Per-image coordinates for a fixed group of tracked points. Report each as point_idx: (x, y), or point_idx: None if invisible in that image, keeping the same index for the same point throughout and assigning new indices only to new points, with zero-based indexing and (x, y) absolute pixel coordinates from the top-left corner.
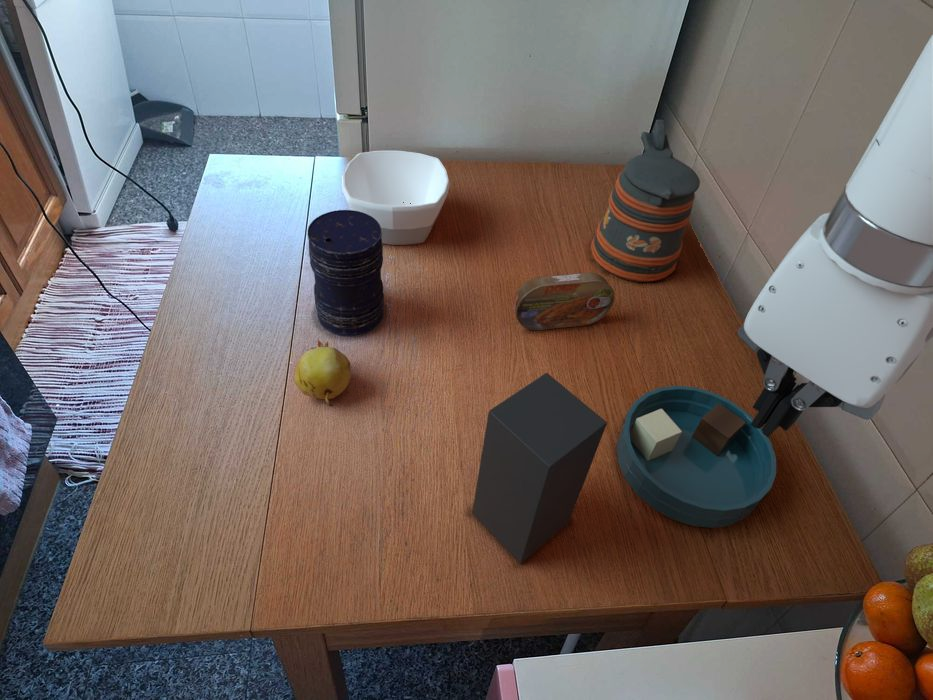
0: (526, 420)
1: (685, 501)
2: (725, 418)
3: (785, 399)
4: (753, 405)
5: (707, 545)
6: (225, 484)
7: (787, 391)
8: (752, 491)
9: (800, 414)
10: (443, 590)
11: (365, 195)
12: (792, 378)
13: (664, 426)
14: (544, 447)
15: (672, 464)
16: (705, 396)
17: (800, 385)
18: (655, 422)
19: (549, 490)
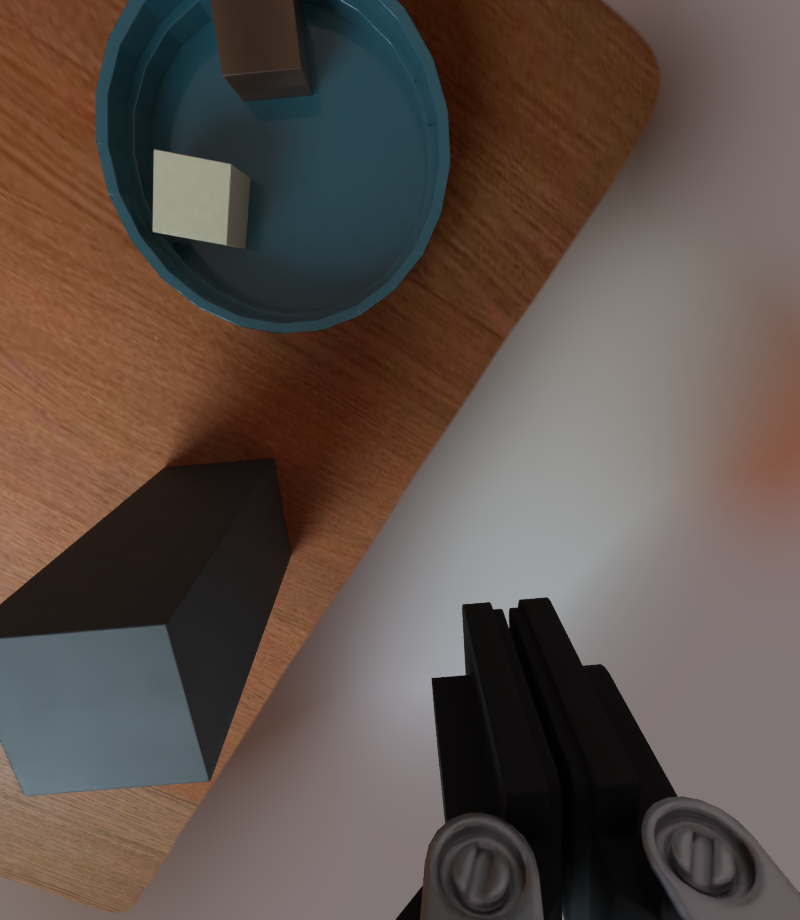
0: (81, 753)
1: (363, 311)
2: (253, 15)
3: (582, 917)
4: (438, 756)
5: (432, 290)
6: (7, 776)
7: (559, 873)
8: (413, 106)
9: (623, 701)
10: (268, 648)
11: None
12: (554, 913)
13: (200, 190)
14: (163, 764)
15: (277, 208)
16: None
17: (620, 912)
18: (181, 201)
19: (238, 673)
